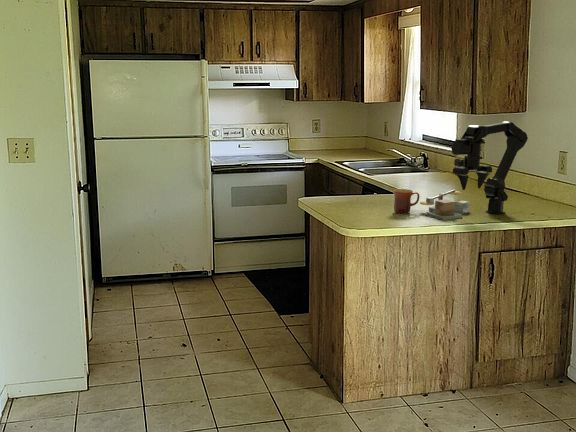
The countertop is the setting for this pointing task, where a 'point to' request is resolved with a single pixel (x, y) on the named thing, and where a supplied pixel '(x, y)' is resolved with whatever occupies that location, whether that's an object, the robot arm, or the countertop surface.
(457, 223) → the countertop surface
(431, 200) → the balance
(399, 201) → the mug
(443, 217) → the slate dish
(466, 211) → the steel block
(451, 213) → the walnut block
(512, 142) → the robot arm
